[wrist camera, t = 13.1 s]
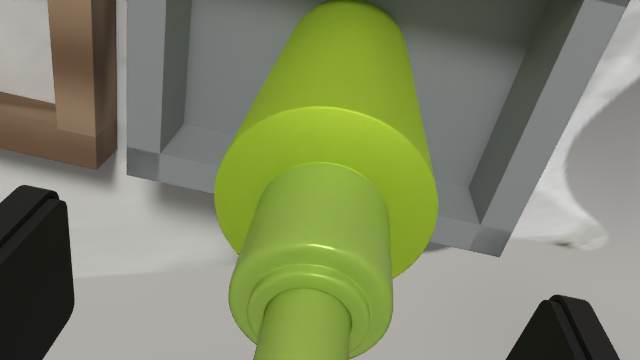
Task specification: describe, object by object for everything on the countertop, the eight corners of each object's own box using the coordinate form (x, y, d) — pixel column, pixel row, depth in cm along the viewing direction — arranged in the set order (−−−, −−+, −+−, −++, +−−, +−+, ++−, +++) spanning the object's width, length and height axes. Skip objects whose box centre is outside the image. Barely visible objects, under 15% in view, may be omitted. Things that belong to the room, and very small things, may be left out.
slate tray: (171, -154, 21) (127, -163, 17) (600, -52, 22) (649, -38, 18) (159, 135, 28) (126, 174, 25) (482, 207, 29) (499, 257, 25)
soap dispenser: (416, 125, 26) (505, 609, 9) (283, 110, 26) (108, 550, 9) (441, 7, 23) (653, 388, 6) (290, -9, 23) (42, 307, 6)
